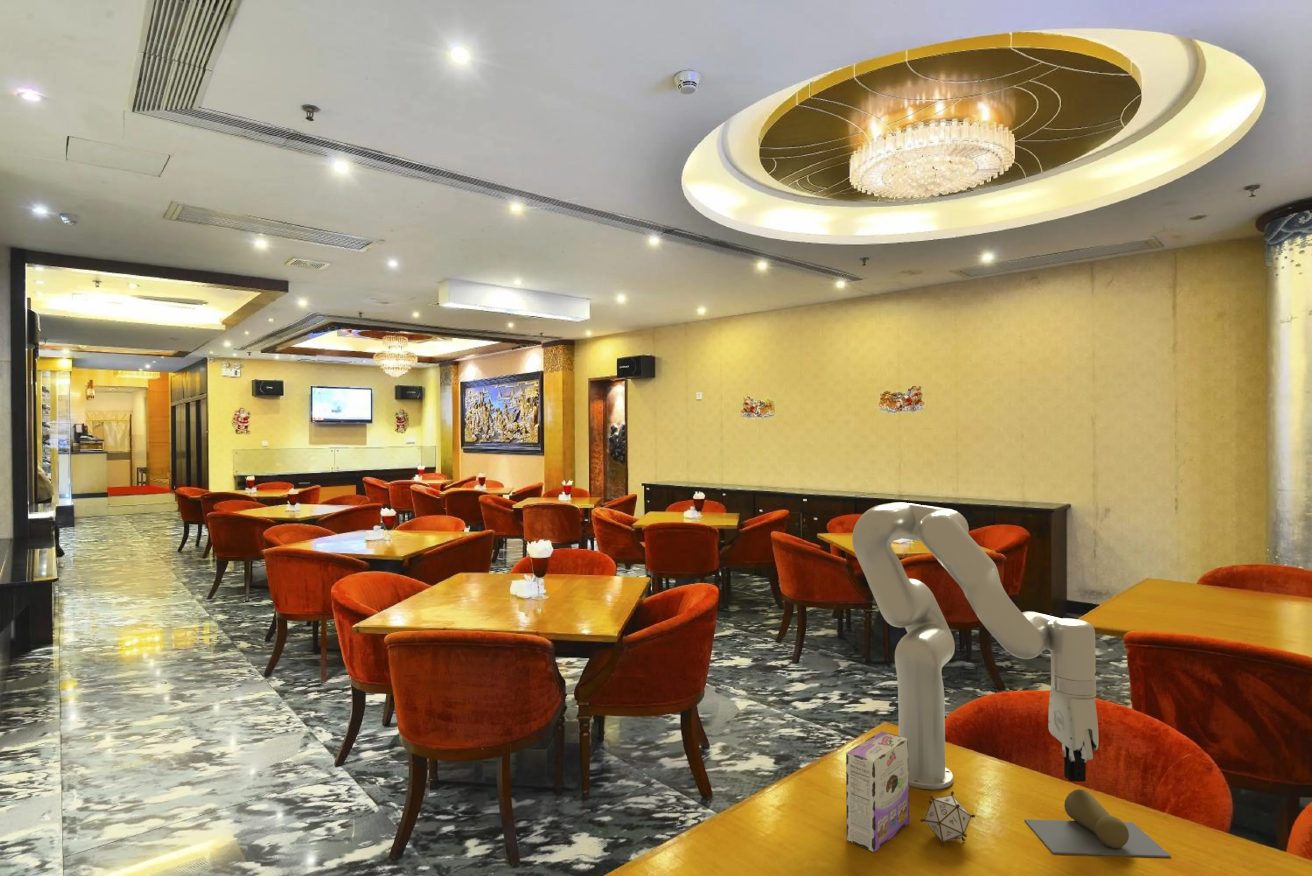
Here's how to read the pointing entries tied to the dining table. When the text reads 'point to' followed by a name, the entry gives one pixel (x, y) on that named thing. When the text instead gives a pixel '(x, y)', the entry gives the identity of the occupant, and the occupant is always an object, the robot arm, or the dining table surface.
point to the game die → (947, 818)
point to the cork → (1096, 818)
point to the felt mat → (1092, 840)
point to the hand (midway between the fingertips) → (1075, 779)
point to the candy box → (877, 790)
